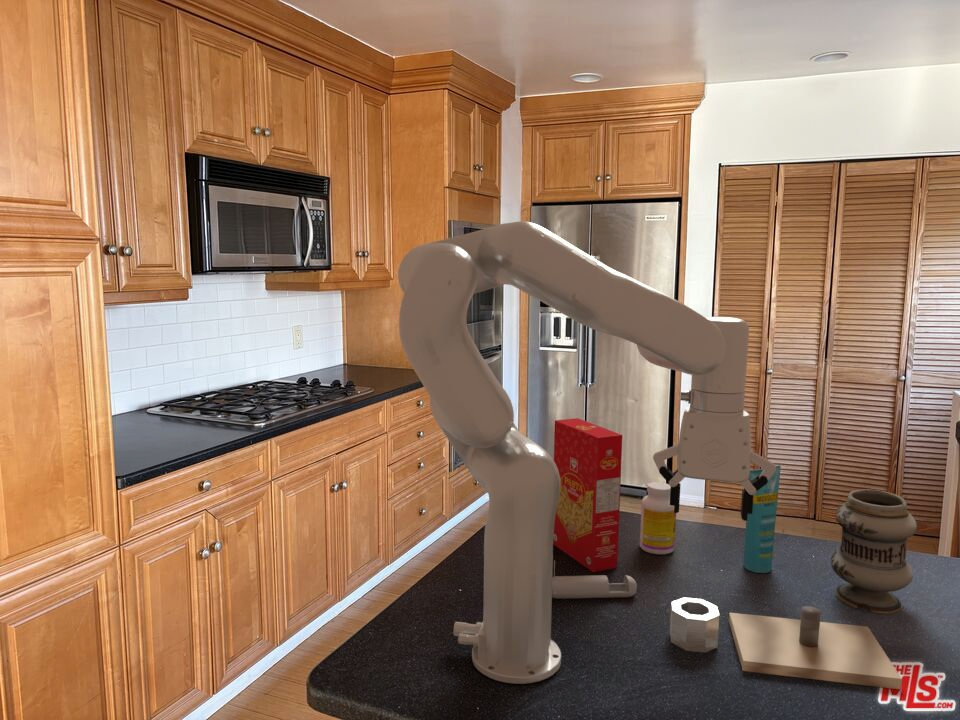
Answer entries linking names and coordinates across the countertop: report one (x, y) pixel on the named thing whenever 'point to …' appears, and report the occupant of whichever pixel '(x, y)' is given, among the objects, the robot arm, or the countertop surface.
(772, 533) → the tube
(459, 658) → the countertop surface
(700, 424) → the robot arm
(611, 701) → the countertop surface
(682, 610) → the steel hub
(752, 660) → the base
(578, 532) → the food packaging
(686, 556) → the countertop surface
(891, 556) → the apothecary jar
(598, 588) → the torpedo
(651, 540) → the supplement bottle
